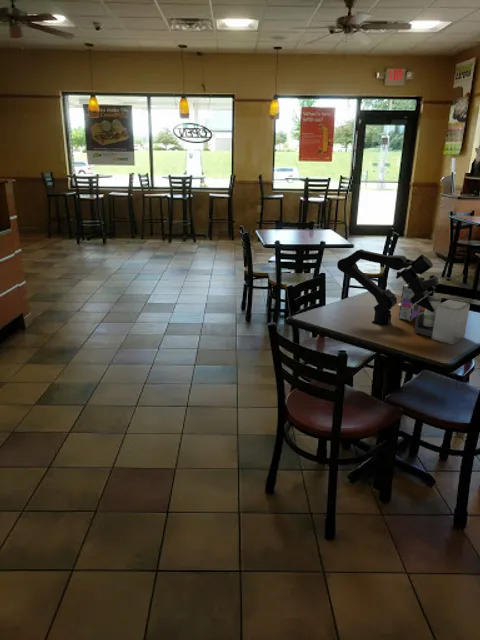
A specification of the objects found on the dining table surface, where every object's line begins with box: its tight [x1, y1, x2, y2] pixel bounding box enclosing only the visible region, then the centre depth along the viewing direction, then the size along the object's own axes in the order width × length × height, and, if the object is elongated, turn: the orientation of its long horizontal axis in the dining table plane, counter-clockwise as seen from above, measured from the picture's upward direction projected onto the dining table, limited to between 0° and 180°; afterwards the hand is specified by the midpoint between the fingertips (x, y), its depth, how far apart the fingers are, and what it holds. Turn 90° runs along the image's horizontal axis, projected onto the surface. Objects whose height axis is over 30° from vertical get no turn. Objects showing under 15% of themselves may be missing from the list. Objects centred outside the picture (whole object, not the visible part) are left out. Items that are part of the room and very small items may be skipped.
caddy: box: [431, 299, 471, 345], centre depth 200 cm, size 9×12×15 cm
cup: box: [423, 295, 442, 327], centre depth 205 cm, size 6×6×12 cm
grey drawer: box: [413, 310, 434, 338], centre depth 207 cm, size 10×10×8 cm
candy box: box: [398, 284, 422, 322], centre depth 228 cm, size 14×6×16 cm, turn 143°
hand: (435, 309), depth 204 cm, fingers closed on cup, 6 cm apart
